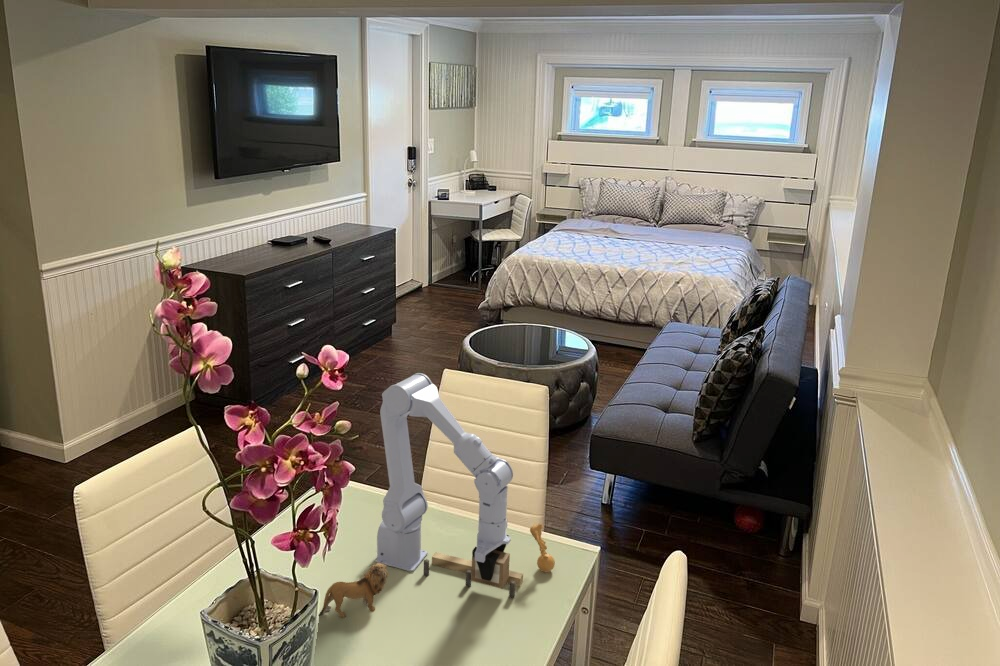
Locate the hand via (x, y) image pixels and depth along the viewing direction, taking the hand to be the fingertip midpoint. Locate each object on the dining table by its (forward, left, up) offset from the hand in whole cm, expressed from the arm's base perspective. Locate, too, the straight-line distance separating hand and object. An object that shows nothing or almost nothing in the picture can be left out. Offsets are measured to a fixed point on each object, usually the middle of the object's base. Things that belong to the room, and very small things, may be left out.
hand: (490, 573), depth 166 cm
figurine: (+8, +12, -5) cm, 15 cm away
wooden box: (0, 0, -2) cm, 2 cm away
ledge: (-5, +3, -5) cm, 7 cm away
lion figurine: (-24, -15, -5) cm, 29 cm away
